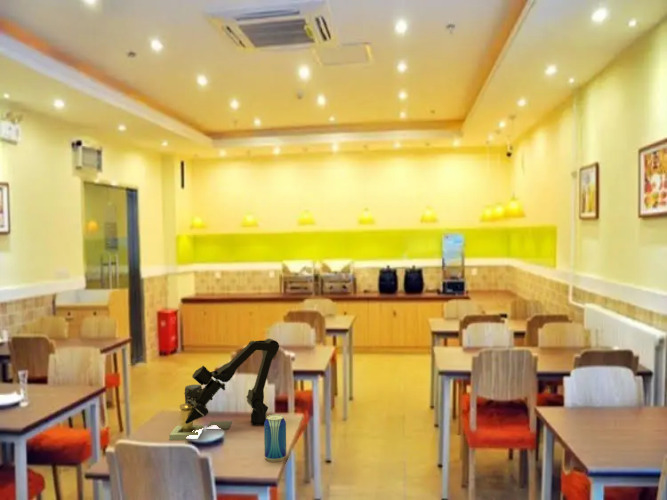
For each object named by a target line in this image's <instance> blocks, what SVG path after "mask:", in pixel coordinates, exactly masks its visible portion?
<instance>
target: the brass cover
mask: <svg viewBox="0 0 667 500" xmlns="http://www.w3.org/2000/svg"><path fill="white" fill-rule="evenodd" d="M192 406H193V407H194V404H192V403H186V404H185V403H182V404H180V405H179V409H180V425H181V432H192V431H193V425H194V421H192V422H190V423H188V424H186V423H185V421H186V420H187V418H188V417H189V415H190V414H191V412H192Z"/></svg>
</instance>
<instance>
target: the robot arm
mask: <svg viewBox="0 0 667 500" xmlns="http://www.w3.org/2000/svg"><path fill="white" fill-rule="evenodd" d="M279 349H280V343H279V342H278V341H277V340H275V339H274V338H273V339H272V338H266V339H262V340H261V339H260V340H250V341H249V342H248V344H247V345H245V347H244V348H242V350H241V351H240V352H238V354H237V355H236V356H234V357H233V359H231V360H230V361H228V362H227V363H225V364H223V365H222V366H220V367H219V368H217V369H216V370H213V371H210V370H209V369H208V368H207V367H206V366H204V365H202V366H201V367H199V368H198V369H196V370H195V371H194V373H193V374H192V379H194V380H195V381H196V382H197V383H198V384H199V385H201V386H203V385H204V386H203V387H202V388H201V389H200V390H199V391H198V390H197V389H194V388H190V387H187V388H186V391H185V390H184V393H183V394H184V396H185V395H186V396H187V398H188V399H189V400H188V399H187V403H192V404H194V407H193V406H192V412H191V414H190V415H189V417H188V418H187V420H186V421H185V423H186V424H188V423H190V422H192V421H193V422H194V421H196V420H198V419H200V418H203V417H206V416H207V415H208V414H209V409H208V408H207V404H208V403H209V402H210V401H213V399H214V398H213V397H214V396H215V395H216V394H217V393H218V391H219V390H220V389H222V390H223V391H226V384H225V383H229V382H230V381H231V379H232V378H233V376H235V374H236V372H237V370H238V369H239V367H240V366H242V365H243V363H245V362H246V360H247V359H248V358H250V356H252V354H254V353H255V352H256V351H262V358H261V362H260V366H259V369H258V373H257V376H256V379H255V383H254V385H253V388H252V389H250V388H249V389H248V391H247V395H246V403H247V404H248V405H249V406H250V407H251V409H252V411H251V413H250V423H251V426H264V423H265V421H266V419H267V413H268V410H269V406H268V405H266V404H265V403H264V400H265V391H264V389H265V385H266V382H267V379H268V377H269V373H270V369H271V368H270V367H271V365H272V361H273V359H274V358H275V357H276V355H277V353H278V351H279ZM221 382H222V383H221Z"/></svg>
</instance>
